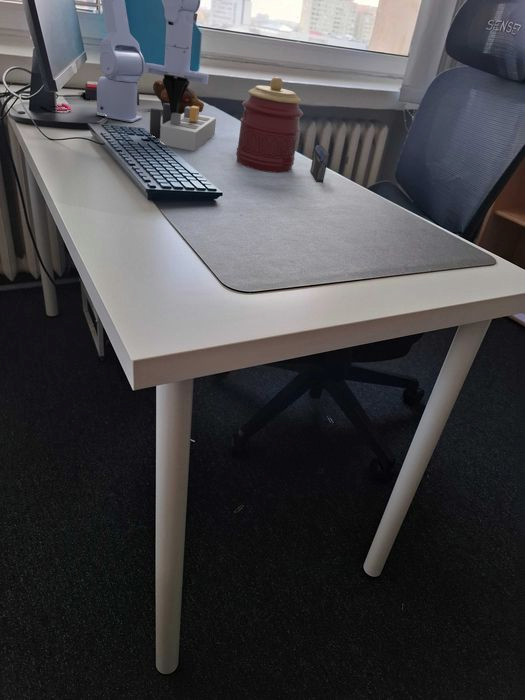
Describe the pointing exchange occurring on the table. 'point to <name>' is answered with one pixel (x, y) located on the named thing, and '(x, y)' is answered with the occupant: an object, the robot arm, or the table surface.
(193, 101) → the decorative turtle
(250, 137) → the canister
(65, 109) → the fitness band
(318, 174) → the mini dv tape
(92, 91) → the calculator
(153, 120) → the disc
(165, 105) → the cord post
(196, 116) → the block
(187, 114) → the breaker panel
